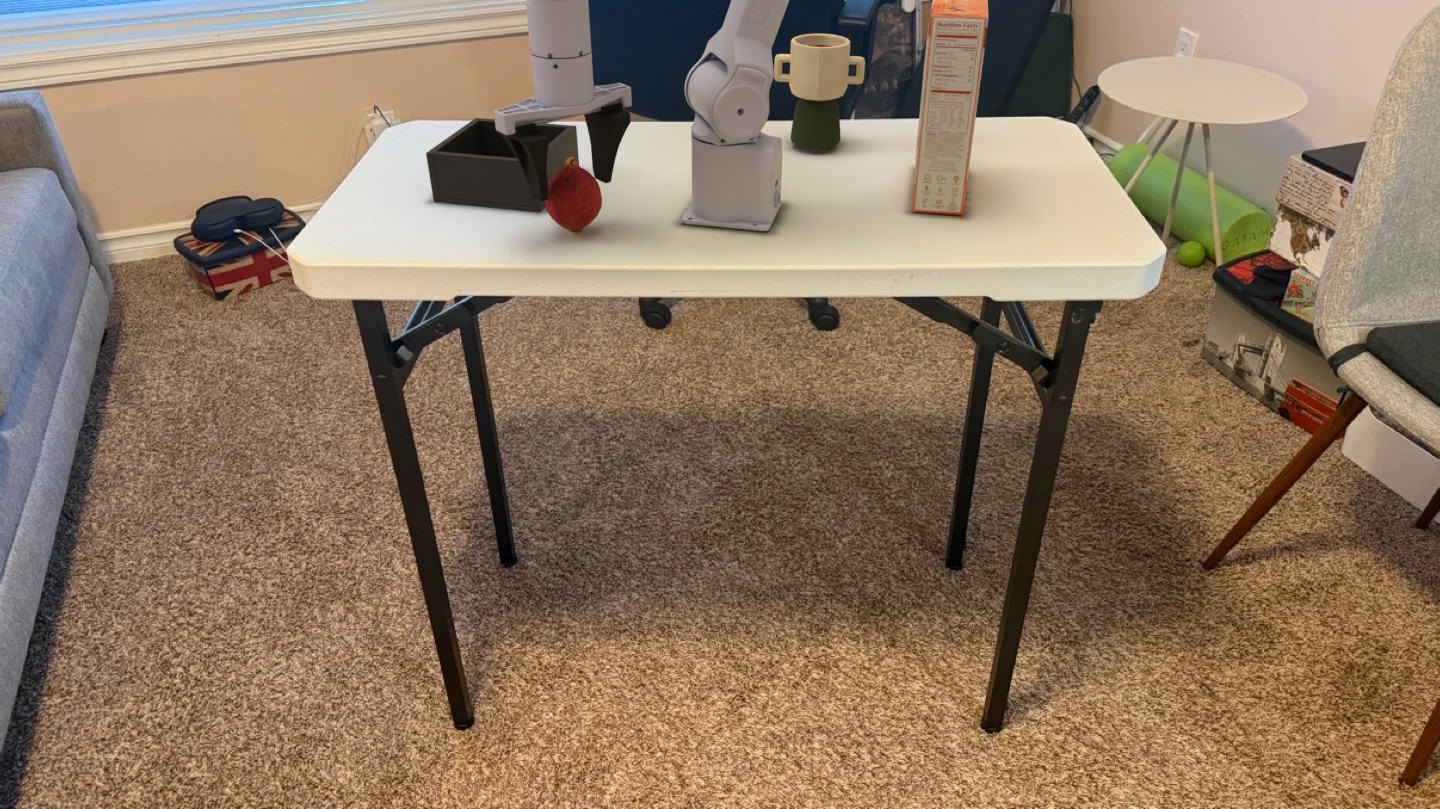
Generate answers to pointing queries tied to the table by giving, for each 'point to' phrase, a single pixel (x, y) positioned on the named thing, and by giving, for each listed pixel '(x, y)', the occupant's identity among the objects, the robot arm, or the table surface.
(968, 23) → the cracker box
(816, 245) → the table surface
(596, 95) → the robot arm
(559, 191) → the onion
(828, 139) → the beige and green cup
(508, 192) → the open storage bin
